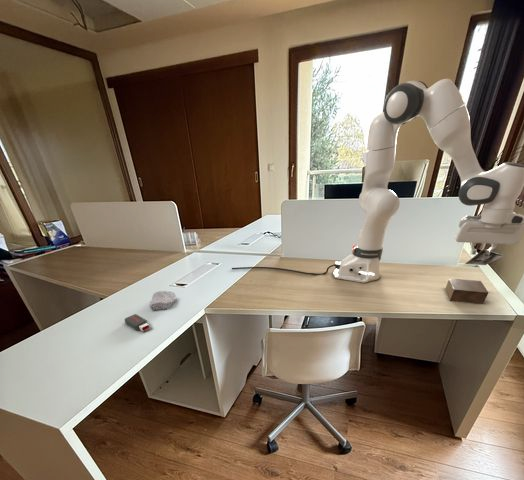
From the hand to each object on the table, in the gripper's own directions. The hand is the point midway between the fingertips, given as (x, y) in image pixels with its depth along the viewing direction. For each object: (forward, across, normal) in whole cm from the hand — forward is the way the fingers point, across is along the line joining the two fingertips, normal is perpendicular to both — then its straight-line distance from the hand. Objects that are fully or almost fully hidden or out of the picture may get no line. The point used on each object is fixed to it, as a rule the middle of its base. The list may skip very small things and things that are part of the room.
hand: (479, 254), depth 111 cm
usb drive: (+17, -123, -58) cm, 137 cm away
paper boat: (+3, +4, 0) cm, 5 cm away
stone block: (+17, -124, -39) cm, 131 cm away
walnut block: (+18, 0, 0) cm, 18 cm away
